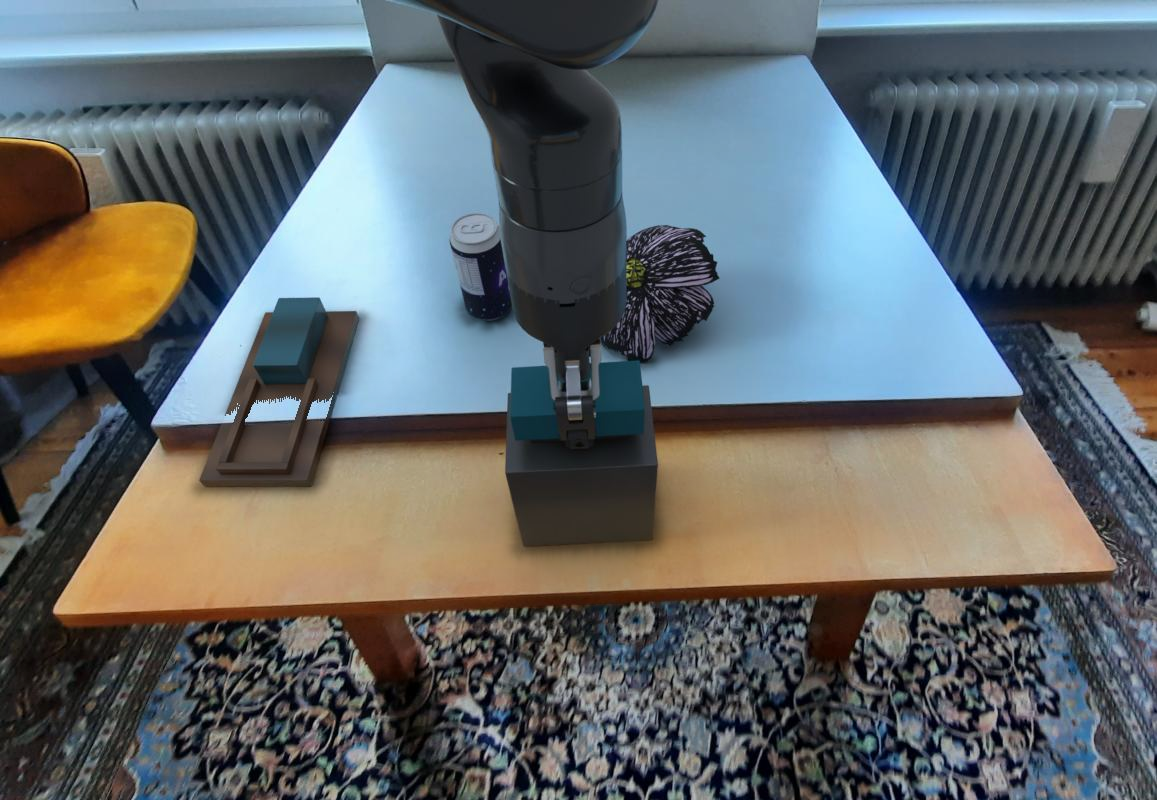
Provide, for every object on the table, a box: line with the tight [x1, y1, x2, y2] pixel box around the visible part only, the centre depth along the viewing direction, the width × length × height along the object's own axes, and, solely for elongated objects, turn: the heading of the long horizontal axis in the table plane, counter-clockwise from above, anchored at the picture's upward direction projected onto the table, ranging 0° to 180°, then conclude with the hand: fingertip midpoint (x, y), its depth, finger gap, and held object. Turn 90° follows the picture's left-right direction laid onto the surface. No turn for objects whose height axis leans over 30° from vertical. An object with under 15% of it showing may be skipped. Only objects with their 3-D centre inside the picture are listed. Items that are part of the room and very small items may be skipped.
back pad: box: [510, 360, 645, 441], centre depth 57 cm, size 10×5×3 cm, turn 92°
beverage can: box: [448, 212, 512, 321], centre depth 82 cm, size 6×6×12 cm
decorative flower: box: [601, 224, 720, 364], centre depth 81 cm, size 15×12×15 cm
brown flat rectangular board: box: [198, 296, 360, 487], centre depth 78 cm, size 23×11×4 cm, turn 178°
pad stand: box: [504, 384, 659, 547], centre depth 64 cm, size 12×8×15 cm, turn 92°
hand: (578, 415), depth 58 cm, fingers closed on back pad, 4 cm apart
